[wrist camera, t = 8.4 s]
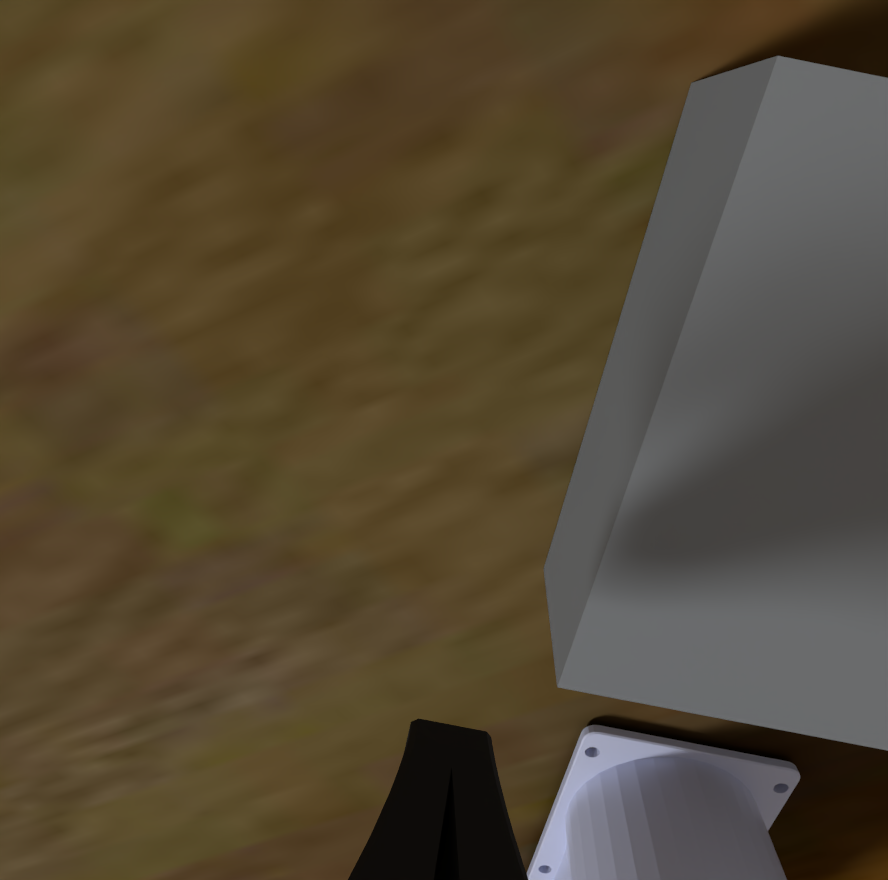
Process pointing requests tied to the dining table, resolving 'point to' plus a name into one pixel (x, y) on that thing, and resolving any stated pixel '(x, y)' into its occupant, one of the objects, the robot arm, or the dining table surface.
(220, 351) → the dining table surface
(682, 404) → the grey drawer housing
